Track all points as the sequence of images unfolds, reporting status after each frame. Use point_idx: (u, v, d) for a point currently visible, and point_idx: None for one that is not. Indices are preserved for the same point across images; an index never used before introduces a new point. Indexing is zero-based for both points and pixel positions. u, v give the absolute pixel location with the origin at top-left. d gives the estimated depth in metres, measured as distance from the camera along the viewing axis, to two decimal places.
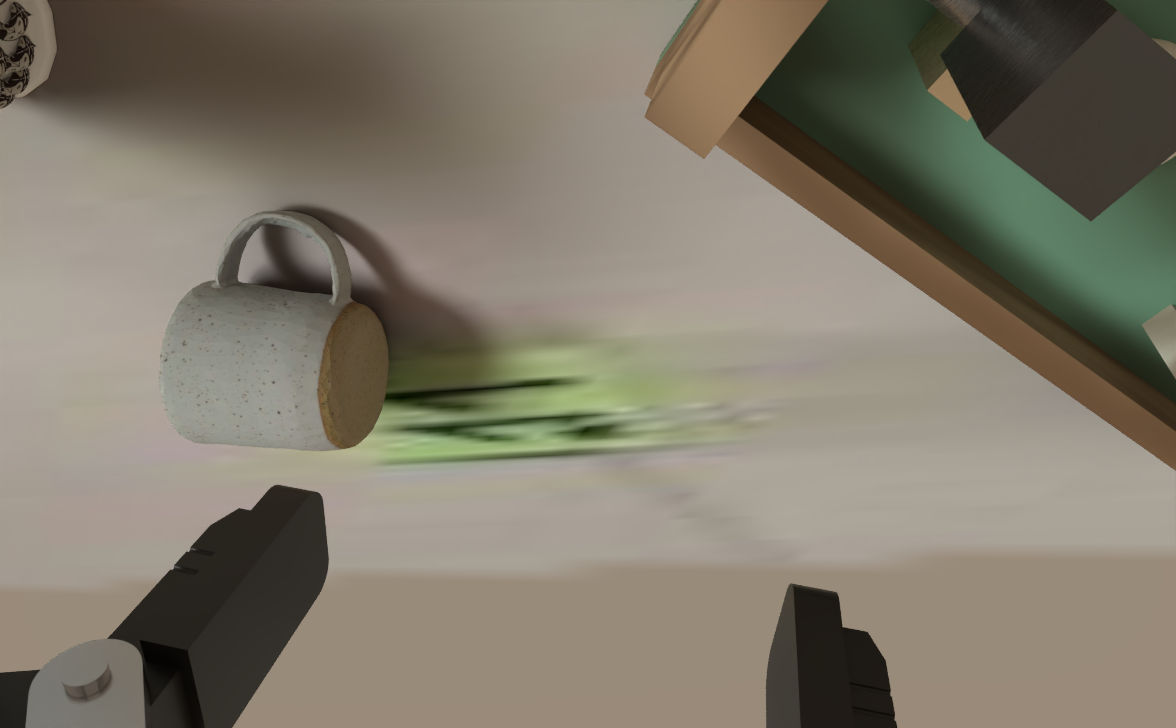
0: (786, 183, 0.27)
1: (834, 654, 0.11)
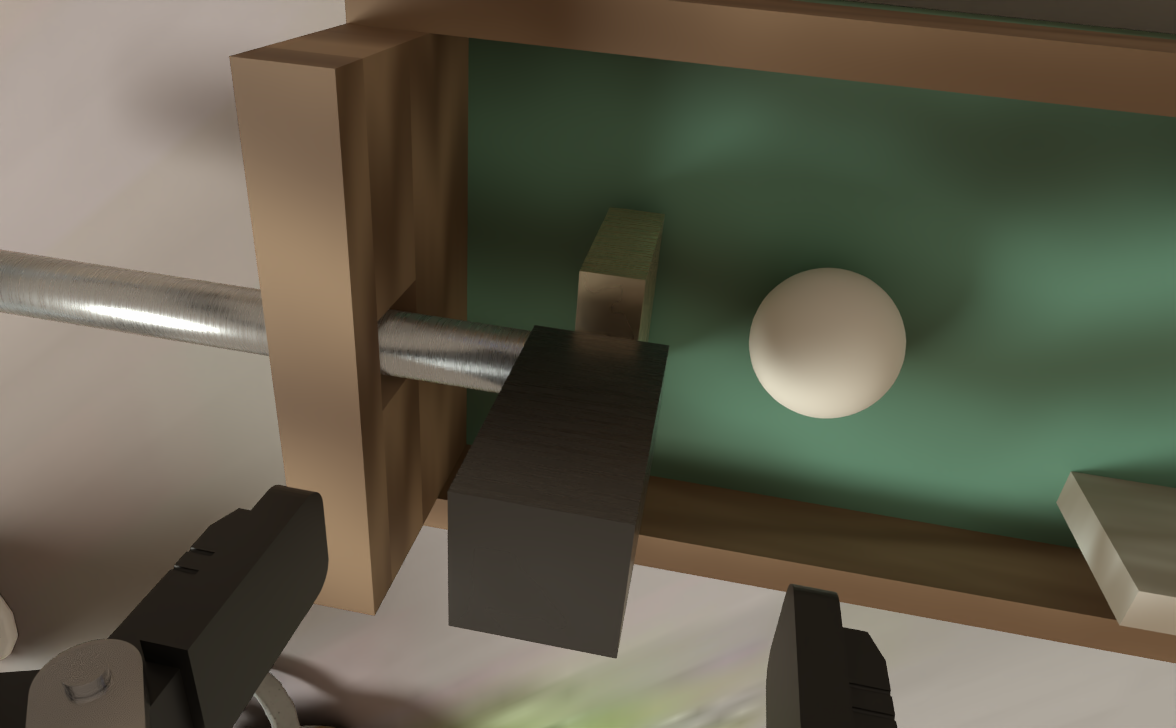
0: None
1: (834, 654, 0.11)
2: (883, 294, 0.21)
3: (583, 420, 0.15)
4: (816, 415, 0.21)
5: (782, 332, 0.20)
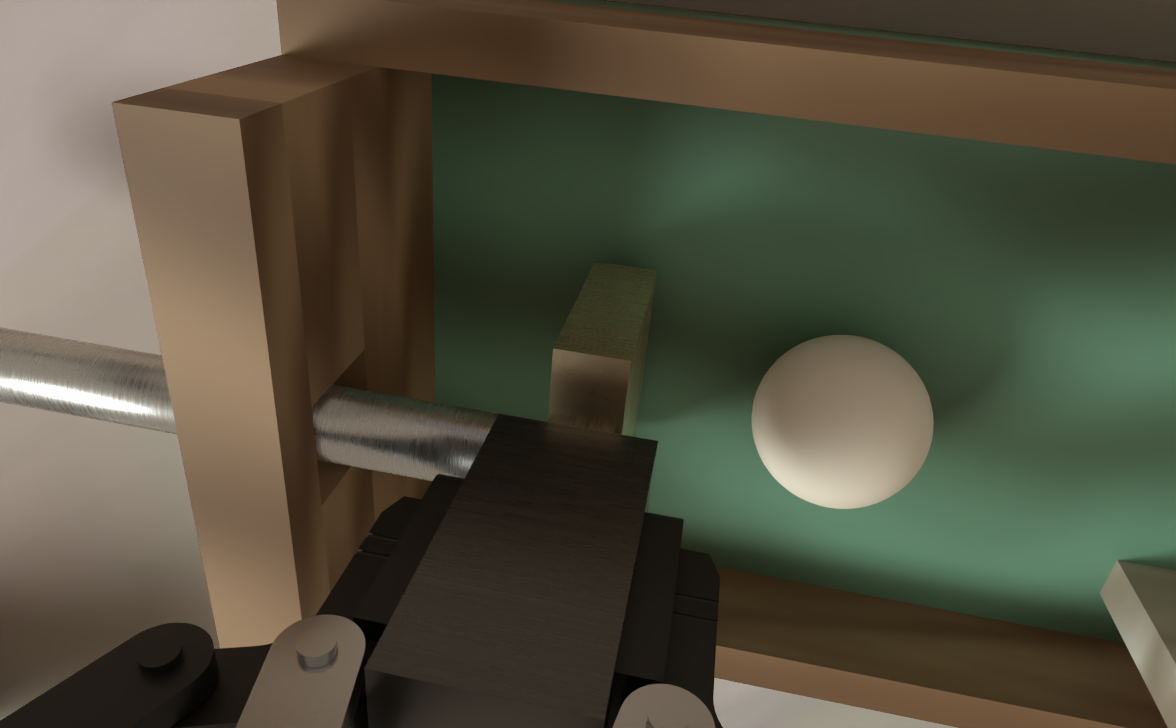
0: None
1: (667, 568, 0.13)
2: (907, 369, 0.18)
3: (547, 553, 0.12)
4: (829, 506, 0.18)
5: (790, 413, 0.17)
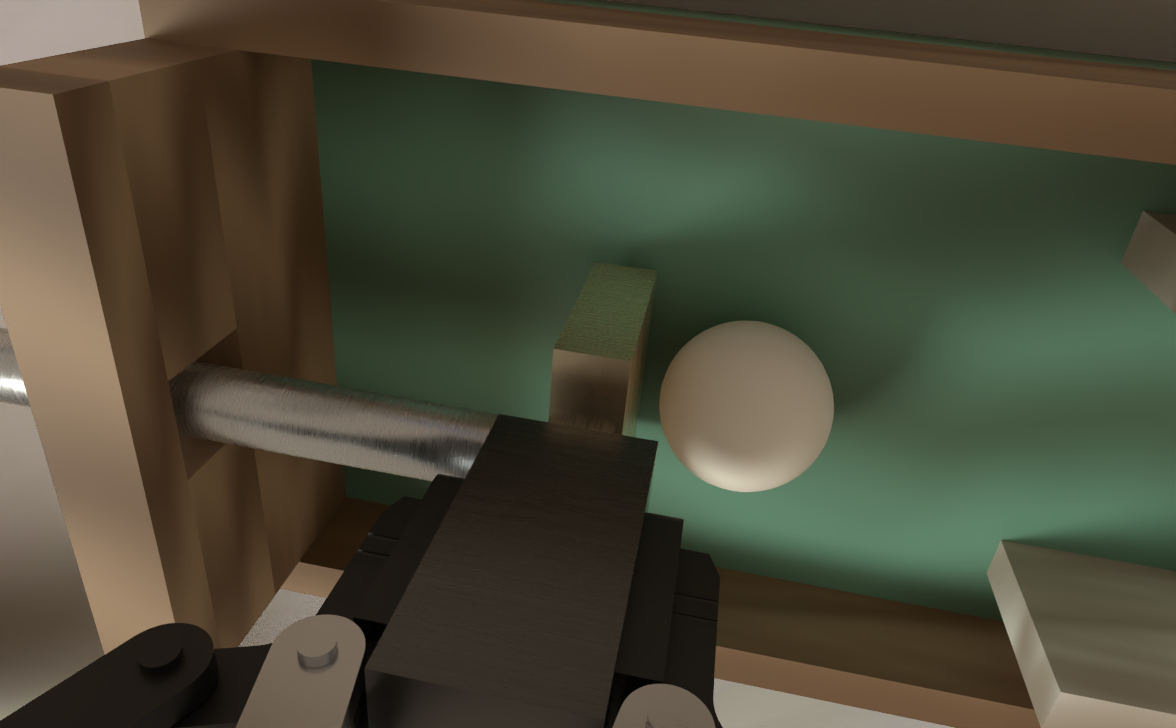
0: None
1: (667, 568, 0.13)
2: (804, 345, 0.18)
3: (548, 553, 0.12)
4: (755, 491, 0.19)
5: (714, 410, 0.17)
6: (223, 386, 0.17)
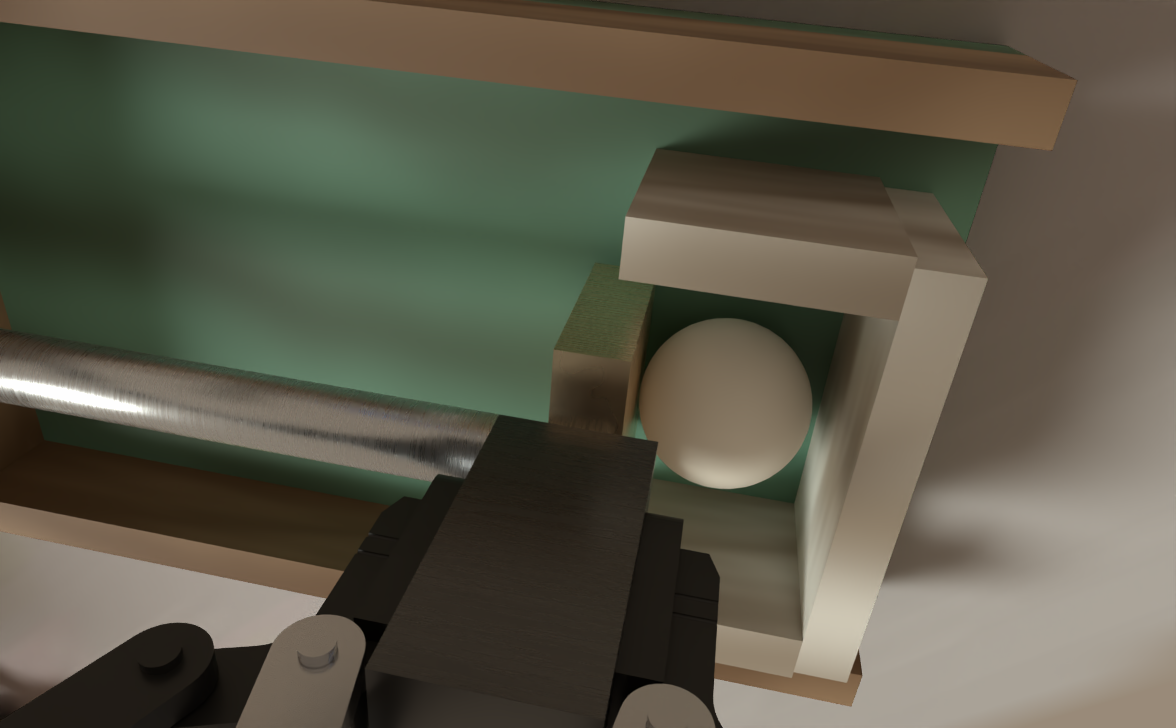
0: (84, 540, 0.24)
1: (667, 568, 0.13)
2: (755, 363, 0.17)
3: (548, 553, 0.12)
4: None
5: (654, 354, 0.19)
6: (223, 386, 0.17)
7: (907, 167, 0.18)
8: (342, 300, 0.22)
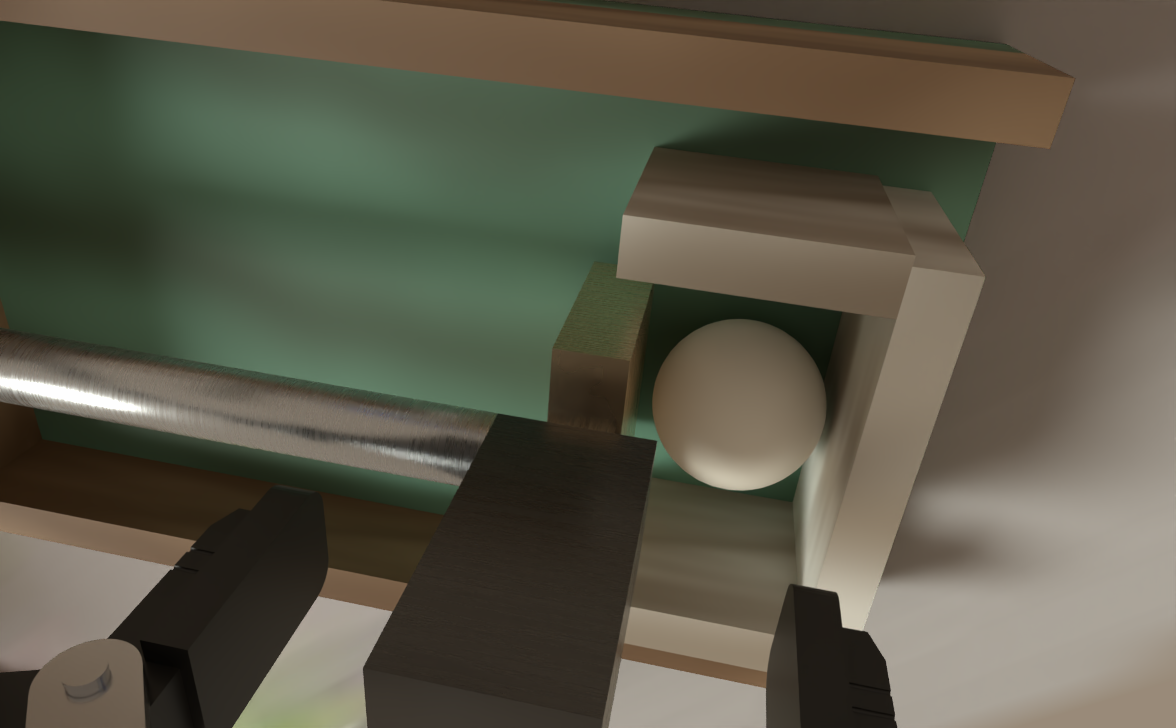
0: (83, 539, 0.24)
1: (834, 654, 0.11)
2: (778, 364, 0.17)
3: (546, 552, 0.12)
4: None
5: (664, 362, 0.19)
6: (221, 385, 0.17)
7: (905, 165, 0.18)
8: (340, 299, 0.22)
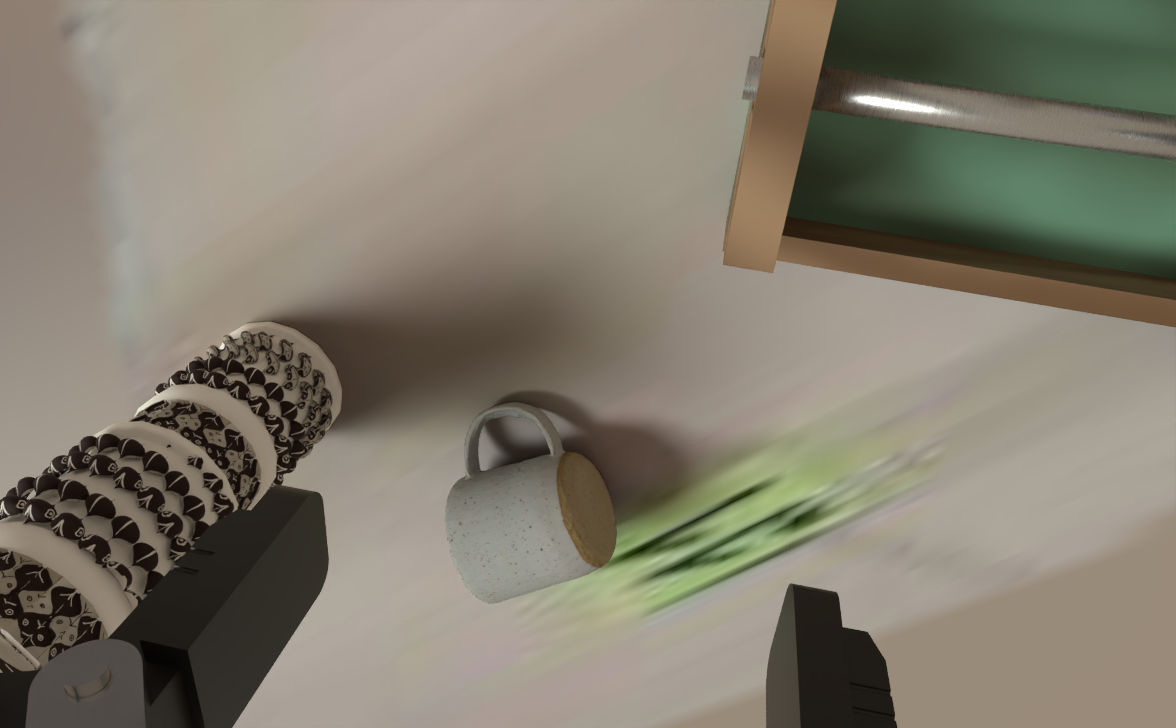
0: (848, 265, 0.37)
1: (834, 654, 0.11)
2: None
3: None
4: None
5: None
6: (1125, 112, 0.29)
7: None
8: None
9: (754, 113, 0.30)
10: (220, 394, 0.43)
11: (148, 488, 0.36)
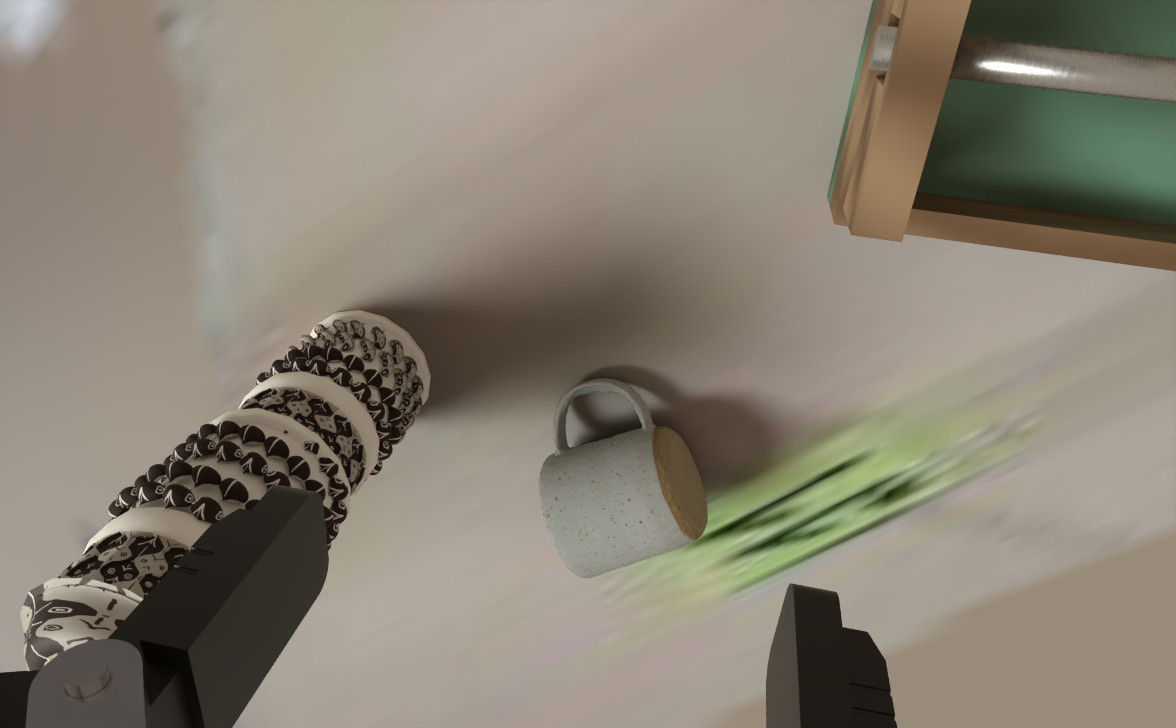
0: (962, 234, 0.37)
1: (834, 654, 0.11)
2: None
3: None
4: None
5: None
6: None
7: None
8: None
9: (890, 81, 0.30)
10: (325, 381, 0.43)
11: (275, 472, 0.37)
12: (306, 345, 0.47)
